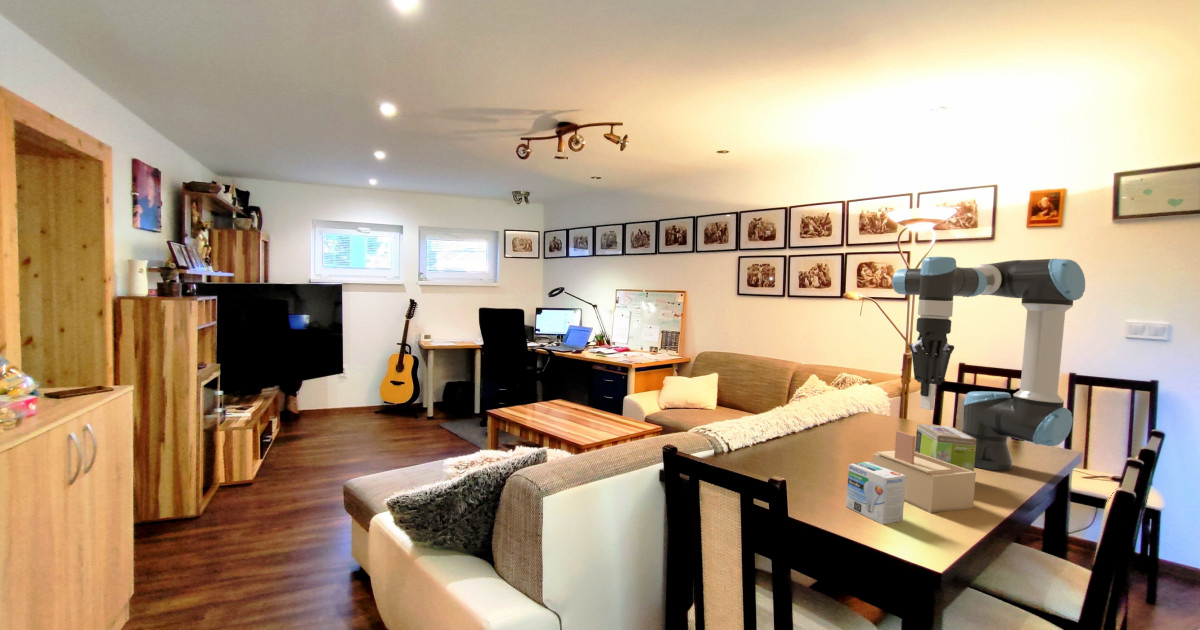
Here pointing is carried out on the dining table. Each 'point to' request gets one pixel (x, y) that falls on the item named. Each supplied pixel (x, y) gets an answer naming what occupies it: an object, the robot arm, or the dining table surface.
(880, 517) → the light bulb box
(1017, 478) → the dining table surface
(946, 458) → the tea box
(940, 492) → the carton
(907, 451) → the flap
